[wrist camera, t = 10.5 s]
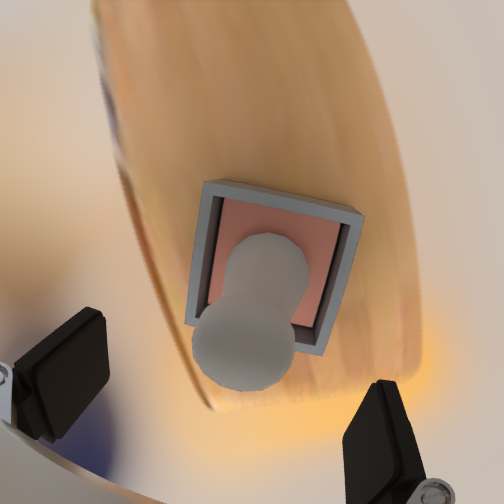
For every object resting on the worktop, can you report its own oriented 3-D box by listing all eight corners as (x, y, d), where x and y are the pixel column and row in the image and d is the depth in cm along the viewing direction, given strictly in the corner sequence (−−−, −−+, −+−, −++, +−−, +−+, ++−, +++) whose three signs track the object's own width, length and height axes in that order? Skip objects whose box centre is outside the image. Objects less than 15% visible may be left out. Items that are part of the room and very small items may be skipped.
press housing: (221, 179, 26) (203, 181, 21) (352, 207, 25) (364, 216, 20) (202, 299, 29) (184, 323, 24) (319, 326, 28) (322, 356, 23)
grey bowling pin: (324, 261, 23) (346, 359, 11) (274, 312, 25) (250, 432, 13) (265, 210, 23) (224, 259, 11) (218, 266, 25) (144, 356, 12)
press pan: (227, 196, 24) (224, 197, 23) (339, 220, 23) (340, 222, 22) (210, 298, 27) (207, 303, 26) (311, 321, 26) (311, 327, 25)
